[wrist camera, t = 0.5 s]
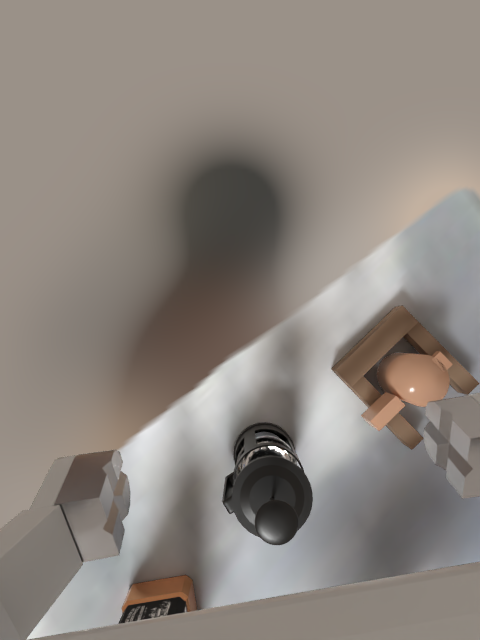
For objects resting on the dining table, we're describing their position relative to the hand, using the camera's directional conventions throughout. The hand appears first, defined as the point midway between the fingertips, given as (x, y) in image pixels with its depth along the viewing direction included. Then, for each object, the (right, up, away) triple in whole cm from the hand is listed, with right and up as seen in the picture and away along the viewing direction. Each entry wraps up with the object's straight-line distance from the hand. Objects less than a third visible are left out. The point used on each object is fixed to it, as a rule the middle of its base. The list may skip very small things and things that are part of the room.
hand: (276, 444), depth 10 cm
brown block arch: (+24, -5, +50) cm, 55 cm away
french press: (+2, -18, +49) cm, 52 cm away
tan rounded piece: (+22, -7, +50) cm, 55 cm away
